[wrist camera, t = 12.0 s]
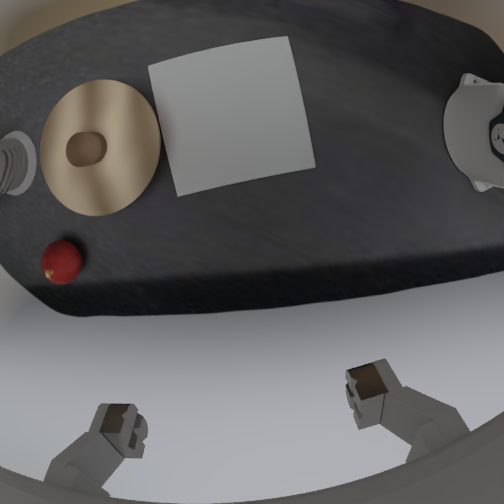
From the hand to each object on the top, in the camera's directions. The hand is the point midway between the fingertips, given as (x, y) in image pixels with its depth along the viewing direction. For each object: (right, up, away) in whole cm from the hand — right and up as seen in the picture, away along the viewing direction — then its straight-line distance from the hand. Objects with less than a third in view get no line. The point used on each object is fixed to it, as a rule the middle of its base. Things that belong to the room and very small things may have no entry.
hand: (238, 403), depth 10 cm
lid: (-16, +17, +18) cm, 29 cm away
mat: (-2, +22, +23) cm, 32 cm away
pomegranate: (-25, +6, +28) cm, 38 cm away
